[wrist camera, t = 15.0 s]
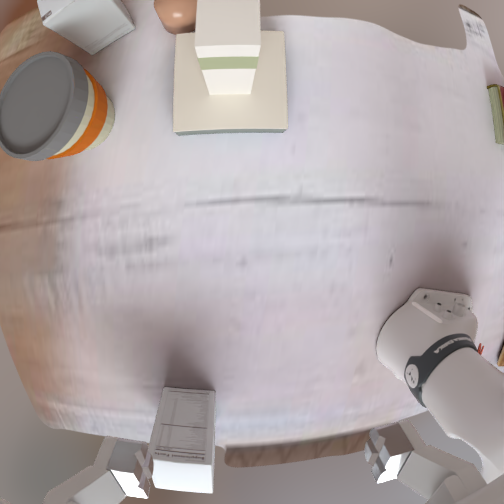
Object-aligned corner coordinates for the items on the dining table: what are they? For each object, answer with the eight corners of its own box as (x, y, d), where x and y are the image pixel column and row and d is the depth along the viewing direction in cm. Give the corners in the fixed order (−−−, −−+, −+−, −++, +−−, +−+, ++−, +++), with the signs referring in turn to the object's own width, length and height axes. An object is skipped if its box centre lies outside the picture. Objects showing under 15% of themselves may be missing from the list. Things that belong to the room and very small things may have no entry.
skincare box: (126, 7, 31) (92, -41, 17) (137, 30, 33) (102, -19, 19) (81, 35, 32) (34, -2, 18) (90, 59, 33) (40, 24, 19)
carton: (250, 58, 32) (260, -3, 17) (251, 94, 33) (261, 45, 19) (209, 59, 32) (196, -2, 17) (209, 95, 33) (193, 47, 18)
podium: (279, 43, 35) (284, 31, 31) (282, 132, 38) (287, 128, 35) (181, 45, 34) (176, 34, 30) (178, 135, 38) (173, 131, 34)
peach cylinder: (203, 2, 32) (200, -18, 27) (202, 32, 34) (198, 13, 28) (164, 7, 32) (156, -13, 26) (161, 37, 34) (152, 19, 28)
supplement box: (167, 420, 50) (152, 488, 33) (162, 385, 47) (142, 457, 31) (216, 424, 50) (214, 495, 34) (216, 390, 48) (212, 465, 32)
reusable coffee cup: (80, 71, 34) (27, 40, 19) (142, 98, 36) (99, 64, 21) (43, 144, 36) (-20, 139, 22) (100, 176, 38) (42, 179, 24)
